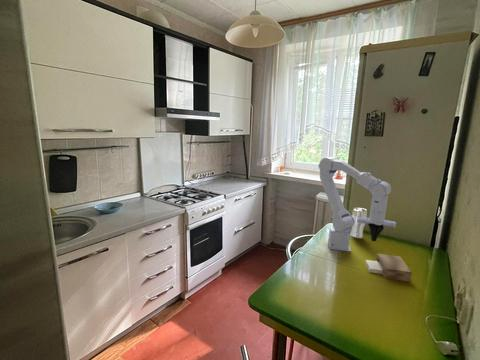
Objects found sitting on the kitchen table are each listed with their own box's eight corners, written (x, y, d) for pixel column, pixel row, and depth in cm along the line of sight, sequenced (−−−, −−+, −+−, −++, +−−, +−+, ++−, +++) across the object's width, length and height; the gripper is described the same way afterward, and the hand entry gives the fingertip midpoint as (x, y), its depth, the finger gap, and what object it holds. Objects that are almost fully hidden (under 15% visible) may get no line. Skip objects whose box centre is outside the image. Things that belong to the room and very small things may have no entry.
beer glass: (348, 236, 133) (352, 210, 130) (349, 232, 139) (353, 206, 136) (363, 240, 130) (367, 212, 126) (363, 235, 136) (367, 208, 132)
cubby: (383, 277, 97) (385, 268, 97) (375, 261, 109) (376, 253, 108) (409, 281, 95) (411, 272, 95) (398, 265, 107) (400, 256, 106)
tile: (369, 273, 101) (369, 268, 101) (365, 264, 108) (365, 259, 107) (402, 277, 99) (403, 273, 98) (396, 268, 105) (396, 263, 105)
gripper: (361, 211, 104) (356, 241, 107) (400, 215, 100) (395, 246, 103) (358, 206, 110) (354, 235, 113) (395, 210, 107) (390, 239, 110)
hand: (373, 240), depth 109 cm, fingers closed
